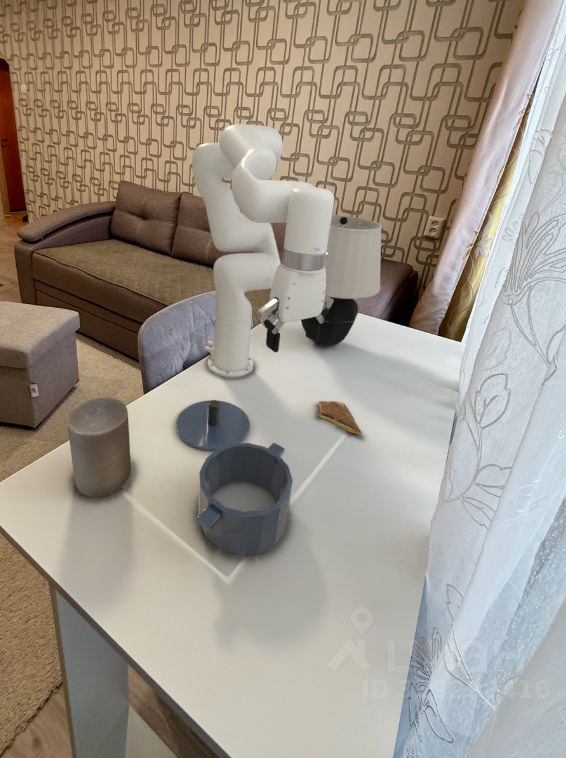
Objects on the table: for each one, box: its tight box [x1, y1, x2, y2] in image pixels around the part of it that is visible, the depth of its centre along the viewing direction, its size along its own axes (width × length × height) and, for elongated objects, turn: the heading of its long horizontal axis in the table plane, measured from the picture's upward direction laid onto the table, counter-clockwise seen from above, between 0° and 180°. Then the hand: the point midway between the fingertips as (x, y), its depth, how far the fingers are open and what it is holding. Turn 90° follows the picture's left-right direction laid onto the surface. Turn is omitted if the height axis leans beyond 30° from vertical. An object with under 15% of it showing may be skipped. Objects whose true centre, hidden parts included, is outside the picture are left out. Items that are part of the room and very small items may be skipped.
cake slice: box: [317, 400, 362, 436], centre depth 89 cm, size 11×8×2 cm
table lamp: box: [300, 214, 383, 348], centre depth 118 cm, size 27×27×40 cm
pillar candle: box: [66, 397, 132, 498], centre depth 68 cm, size 10×10×15 cm
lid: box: [175, 399, 251, 452], centre depth 84 cm, size 16×16×6 cm
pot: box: [196, 442, 294, 557], centre depth 64 cm, size 15×20×8 cm
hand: (292, 343), depth 77 cm, fingers open, 9 cm apart
